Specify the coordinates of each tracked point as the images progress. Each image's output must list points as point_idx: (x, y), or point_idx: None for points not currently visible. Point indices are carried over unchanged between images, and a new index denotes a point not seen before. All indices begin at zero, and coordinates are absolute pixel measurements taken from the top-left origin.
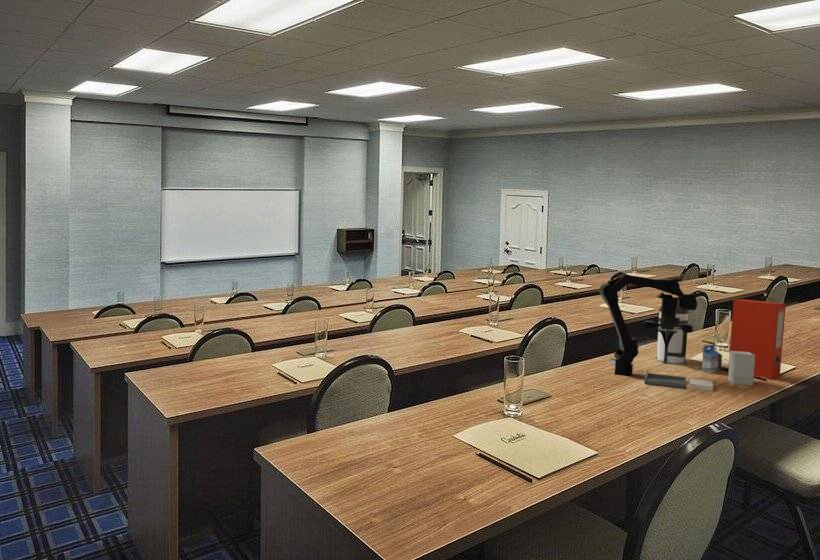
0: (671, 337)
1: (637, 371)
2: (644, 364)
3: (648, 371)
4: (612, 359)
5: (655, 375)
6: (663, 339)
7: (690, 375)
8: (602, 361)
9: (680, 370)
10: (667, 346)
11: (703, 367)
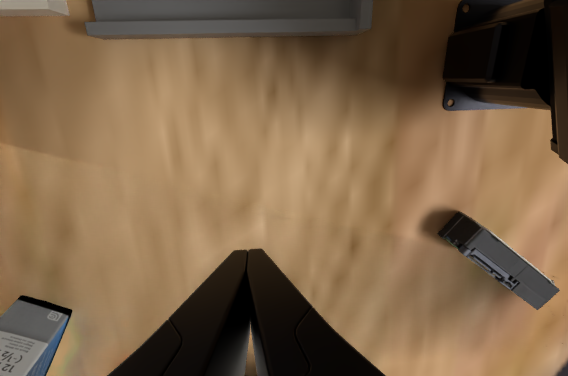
0: (118, 367)
1: (405, 185)
2: None
3: (360, 22)
4: (546, 292)
5: (304, 22)
6: (311, 305)
7: (121, 252)
8: (555, 318)
9: None
10: (234, 252)
11: (40, 340)
